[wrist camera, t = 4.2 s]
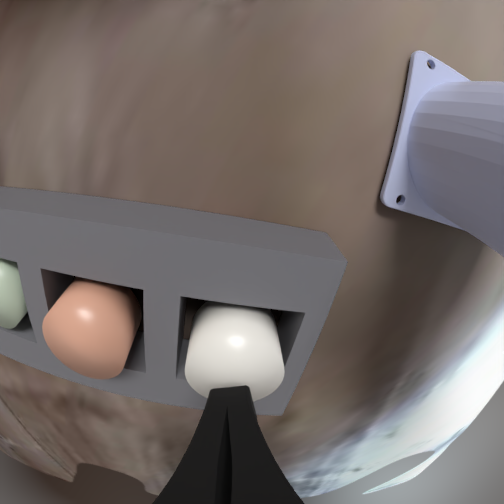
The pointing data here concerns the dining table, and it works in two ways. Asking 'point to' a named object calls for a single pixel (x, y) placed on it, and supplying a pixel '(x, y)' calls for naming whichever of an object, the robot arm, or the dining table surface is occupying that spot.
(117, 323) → the terracotta button
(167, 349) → the button panel
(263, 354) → the cream button
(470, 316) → the dining table surface
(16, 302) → the sage button
